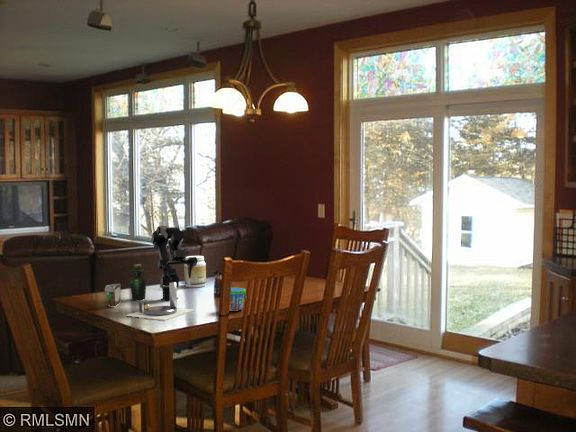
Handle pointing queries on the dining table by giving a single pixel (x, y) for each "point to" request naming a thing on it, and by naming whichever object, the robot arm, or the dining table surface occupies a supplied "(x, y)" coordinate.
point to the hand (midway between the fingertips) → (180, 278)
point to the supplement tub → (196, 273)
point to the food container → (113, 294)
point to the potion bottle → (138, 284)
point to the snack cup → (237, 298)
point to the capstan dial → (164, 309)
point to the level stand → (158, 317)
